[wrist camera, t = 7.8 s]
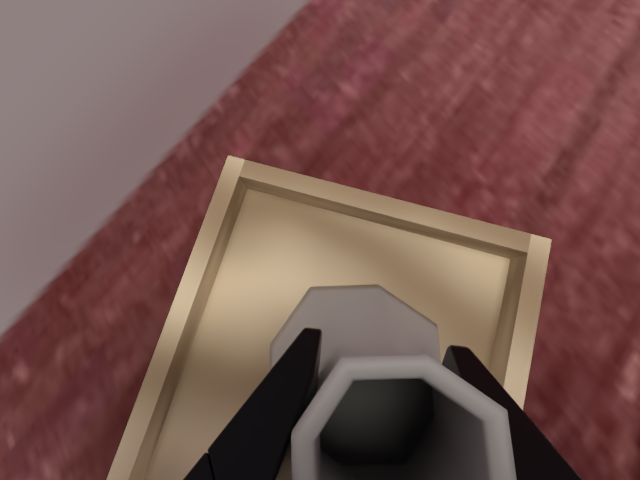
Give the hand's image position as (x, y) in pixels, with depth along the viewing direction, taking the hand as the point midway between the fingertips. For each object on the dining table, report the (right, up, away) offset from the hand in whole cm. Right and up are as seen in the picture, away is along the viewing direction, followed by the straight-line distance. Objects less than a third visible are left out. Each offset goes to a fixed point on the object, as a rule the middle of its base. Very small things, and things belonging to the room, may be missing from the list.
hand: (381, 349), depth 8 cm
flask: (0, -3, +7) cm, 7 cm away
